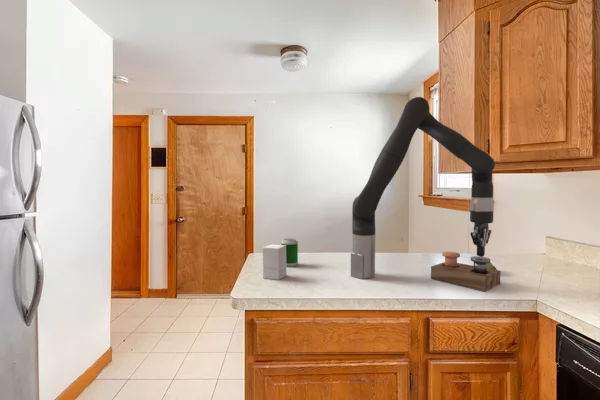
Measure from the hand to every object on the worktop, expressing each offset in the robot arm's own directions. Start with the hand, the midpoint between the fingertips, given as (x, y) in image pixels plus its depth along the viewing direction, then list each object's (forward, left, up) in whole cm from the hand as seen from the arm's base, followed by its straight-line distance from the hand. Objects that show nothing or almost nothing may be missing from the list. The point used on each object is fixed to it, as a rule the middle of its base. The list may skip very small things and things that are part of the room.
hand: (480, 255), depth 121 cm
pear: (+20, +5, -11) cm, 23 cm away
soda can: (-37, +69, -11) cm, 79 cm away
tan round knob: (0, +11, -6) cm, 13 cm away
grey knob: (0, 0, -6) cm, 6 cm away
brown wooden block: (0, +6, -11) cm, 12 cm away
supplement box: (-53, +58, -11) cm, 79 cm away
